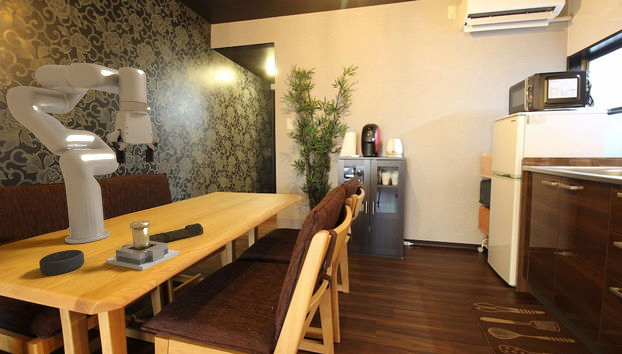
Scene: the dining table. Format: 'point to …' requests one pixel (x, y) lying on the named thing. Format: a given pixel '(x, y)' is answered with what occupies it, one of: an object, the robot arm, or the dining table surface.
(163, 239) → the hand tool
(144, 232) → the brass pin
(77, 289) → the dining table surface
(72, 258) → the smart speaker
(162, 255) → the grey holder fixture
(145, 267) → the board
